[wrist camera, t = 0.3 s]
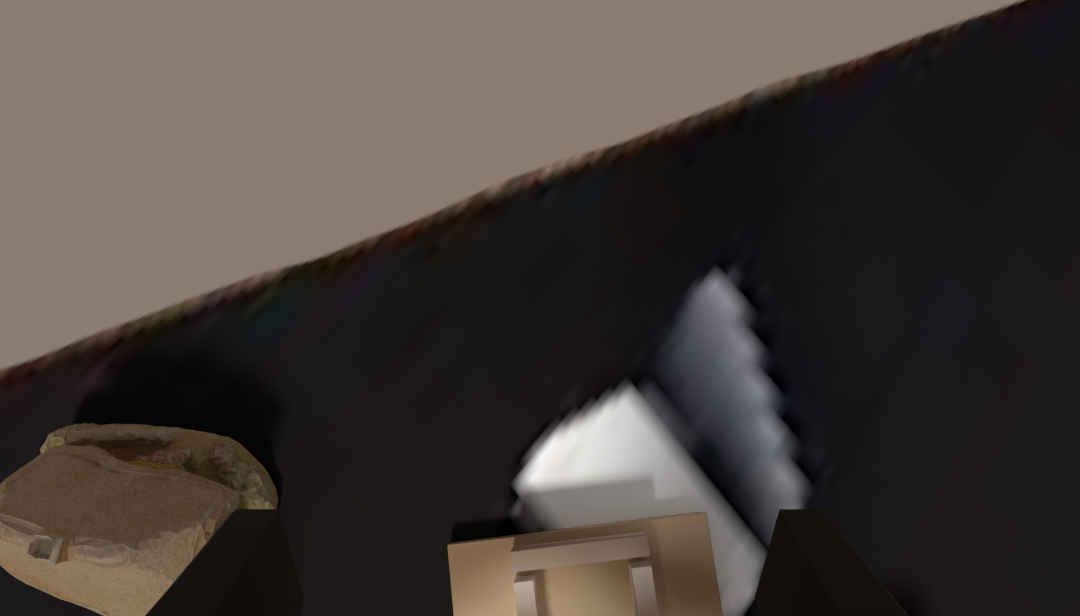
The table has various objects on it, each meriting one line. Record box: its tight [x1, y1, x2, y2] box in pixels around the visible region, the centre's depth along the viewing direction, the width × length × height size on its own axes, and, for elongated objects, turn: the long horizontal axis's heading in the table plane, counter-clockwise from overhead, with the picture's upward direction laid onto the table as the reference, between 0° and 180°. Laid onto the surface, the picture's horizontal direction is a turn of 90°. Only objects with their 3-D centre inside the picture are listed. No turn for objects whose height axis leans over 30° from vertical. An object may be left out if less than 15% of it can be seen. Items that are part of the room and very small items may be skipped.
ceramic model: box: [0, 423, 278, 616], centre depth 35 cm, size 14×11×10 cm
